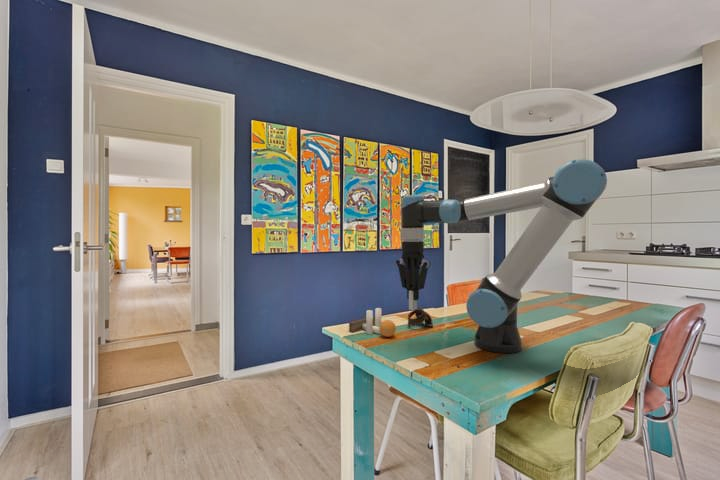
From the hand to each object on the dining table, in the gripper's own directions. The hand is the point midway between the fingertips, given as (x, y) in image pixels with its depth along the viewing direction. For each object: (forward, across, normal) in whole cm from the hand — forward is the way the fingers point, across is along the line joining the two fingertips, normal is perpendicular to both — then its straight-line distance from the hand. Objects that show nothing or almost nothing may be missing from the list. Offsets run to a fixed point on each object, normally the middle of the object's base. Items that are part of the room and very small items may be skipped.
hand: (412, 309), depth 125 cm
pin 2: (+11, +18, -2) cm, 21 cm away
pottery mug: (+12, +10, -19) cm, 24 cm away
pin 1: (+11, +18, +3) cm, 21 cm away
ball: (+9, +11, +1) cm, 14 cm away
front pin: (+10, +14, 0) cm, 18 cm away
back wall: (+11, +24, 0) cm, 26 cm away
